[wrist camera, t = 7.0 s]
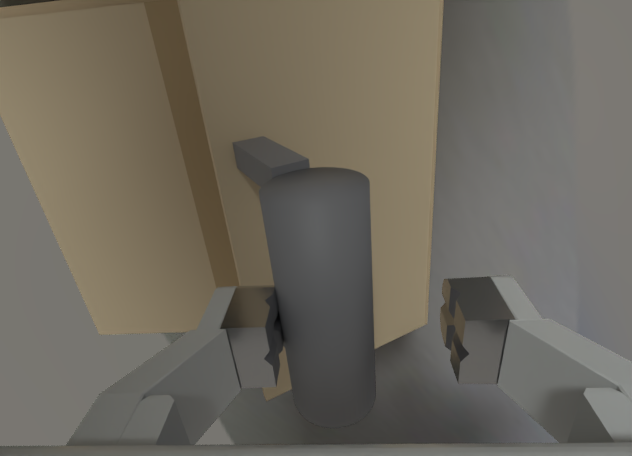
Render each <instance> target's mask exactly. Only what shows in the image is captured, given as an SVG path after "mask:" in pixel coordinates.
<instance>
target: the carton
mask: <svg viewBox="0 0 632 456" xmlns="http://www.w3.org/2000/svg"><path fill="white" fill-rule="evenodd" d="M443 4H444V0H440V3H439V24H438V45H437V67H436V88H435V109H434V130H433V152H432V173H431V194H430V216H429V237H428V258H427V280H426V301H425V322H424V324H427V317H428V298H429V278H430V259H431V239H432V220H433V200H434V180H435V161H436V141H437V122H438V102H439V83H440V63H441V43H442V24H443ZM0 116H1V118H2V120H3V123H4V125H5V127H6V129H7V131H8V134H9V136H10V138H11V140H12V142H13V145H14V147H15V149H16V151H17V153H18V156H19V158H20V160H21V162H22V164H23V167H24V169H25V171H26V173H27V175H28V178H29V180H30V182H31V184H32V187H33V189H34V191H35V193H36V195H37V198H38V200H39V202H40V204H41V206H42V209H43V211H44V213H45V215H46V217H47V220H48V222H49V224H50V226H51V229H52V231H53V233H54V235H55V237H56V240H57V242H58V244H59V246H60V248H61V251H62V253H63V255H64V257H65V259H66V262H67V264H68V266H69V268H70V271H71V272H72V275H73V277H74V279H75V282H76V284H77V286H78V288H79V290H80V293H81V295H82V297H83V299H84V302H85V304H86V306H87V308H88V310H89V313H90V314H91V317H92V319H93V321H94V323H95V326H96V328H97V330H98V332H99V335H112V334H140V333H142V334H143V333H174V332H188V331H190V330H196V329H197V327H198V325H199V323H200V321H201V319H202V317H203V314H204V312H205V310H206V308H207V306H208V304H209V302H210V300H211V297H212V295H213V293H214V291H215V289H216V288H218V287H225V286H237V287H238V286H240V285H239V280H238V276H237V271H236V267H235V262H234V257H233V253H232V248H231V244H230V239H229V235H228V230H227V226H226V221H225V217H224V212H223V208H222V203H221V198H220V194H219V189H218V185H217V180H216V176H215V171H214V167H213V162H212V158H211V153H210V148H209V144H208V139H207V135H206V130H205V126H204V121H203V117H202V112H201V108H200V103H199V98H198V94H197V89H196V85H195V80H194V76H193V71H192V67H191V62H190V58H189V53H188V48H187V44H186V39H185V35H184V30H183V26H182V21H181V17H180V12H179V8H178V3H177V0H60V1H51V2H42V3H34V4H25V5H17V6H8V7H0Z"/></svg>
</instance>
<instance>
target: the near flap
mask: <svg viewBox="0 0 632 456" xmlns="http://www.w3.org/2000/svg"><path fill="white" fill-rule="evenodd" d="M177 3H178V8H179V12H180V17H181V21H182V26H183V30H184V35H185V39H186V44H187V48H188V53H189V58H190V62H191V67H192V71H193V76H194V80H195V85H196V89H197V94H198V98H199V103H200V108H201V112H202V117H203V121H204V126H205V130H206V135H207V139H208V144H209V148H210V153H211V158H212V162H213V167H214V171H215V176H216V180H217V185H218V189H219V194H220V198H221V203H222V208H223V212H224V217H225V221H226V226H227V230H228V235H229V239H230V244H231V248H232V253H233V257H234V262H235V267H236V271H237V276H238V280H239V285H240V286H265V285H274V286H275V289H276V294H277V301H278V306H279V315H280V320H281V324H282V330H283V336H284V345H283V351H282V352H281V353H280V354H279V360H280V369H279V375H278V380H277V386H276V387H265V388H262V389H263V394H264V397H265V399H266V401H268V400H270V399H272V398H274V397H276V396H278V395H281V394H283V393H285V392H287V391H289V390H291V389H292V392H293V397H294V402H295V405H296V408H297V410H298V411H299V413H300V414H301V415H302V416H303V417H304V418H305V419H306V420H308V421H309V422H311V423H313V424H315V425H317V426H321V427H325V428H341V427H346V426H349V425H352V424H354V423H356V422H358V421H359V420H361V419H362V418H363V417H365V416H366V415H367V414H368V412H369V411H370V410H371V408H372V406H373V404H374V401H375V397H376V381H375V349H376V348H378V347H380V346H382V345H384V344H386V343H388V342H391V341H393V340H395V339H397V338H399V337H401V336H403V335H405V334H407V333H409V332H411V331H413V330H415V329H417V328H420V327H422V326H424V322H425V301H426V280H427V258H428V237H429V216H430V194H431V173H432V152H433V130H434V109H435V88H436V67H437V45H438V24H439V3H440V0H177Z"/></svg>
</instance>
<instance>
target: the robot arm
mask: <svg viewBox="0 0 632 456" xmlns="http://www.w3.org/2000/svg"><path fill="white" fill-rule="evenodd" d="M442 294H443V297H444V300H445V302H446V303H445V304H444V305H443V306H442V307H441V313H440V322H441V332H442V337H443V340H444V343H445V346H446V347H447V348H448V349H450V350H451V358H450V361H451V364H452V367H453V370H454V373H455V376H456V379H457V382H458V384H498V385H497V386H498V387H499V388H500V389H501V390H502V391H504V392H505V393H506V394H507V395H508V396H509V397H510V398H511V399H512V400H513V401H514V402H516V403H517V404H518V405H519V406H520V407H521V408H522V409H523V410H524V411H525V412H526V413H528V414H529V415H530V416H531V417H532V418H533V419H534V420H535V421H536V422H537V423H538V424H540V425H541V426H542V427H543V428H544V429H545V430H546V431H547V432H548V433H549V434H550V435H552V436H553V437H554V438H555V439H556V440H557V441H558V442H559V443H425V444H259V445H195V444H196V442H197V441H198V440H199V439H200V438H201V437H202V435H203V434H204V433H205V432H206V431H207V430H208V428H209V427H210V426H211V425H212V424H213V423H214V421H215V420H216V419H217V418H218V417H219V416H220V414H221V413H222V412H223V411H224V410H225V409H226V407H227V406H228V405H229V404H230V403H231V402H232V401H233V399H234V398H235V397H236V396H237V395H238V394H239V392H240V391H241V389H244V388H265V387H276V386H277V380H278V375H279V369H280V360H279V354H280V353H281V352H282V351H283V345H284V336H283V330H282V324H281V320H280V315H279V306H278V301H277V294H276V289H275V286H274V285H265V286H238V287H237V286H225V287H218V288H216V289H215V291H214V293H213V295H212V297H211V300H210V302H209V304H208V306H207V308H206V310H205V312H204V314H203V317H202V319H201V321H200V323H199V325H198V327H197V329H196V330H190V331H188V332H187V333H186V334H184V335H183V336H181V337H180V338H179V339H177V340H176V341H174V342H173V343H171V344H170V345H169V346H167V347H166V348H164V349H163V350H161V351H160V352H159V353H157V354H156V355H155V356H153V357H152V358H150V359H149V360H147V361H146V362H144V363H143V364H142V365H141V366H139V367H138V368H136V369H135V370H133V371H132V372H130V373H129V374H127V375H126V376H125V377H123V378H122V379H120V380H119V381H117V382H116V383H115V384H113V385H112V386H110V387H109V388H107V389H106V390H105V391H103V392H102V393H100V394H99V396H98V397H97V399H96V400H95V402H94V403H93V405H92V406H91V408H90V409H89V411H88V412H87V414H86V415H85V417H84V418H83V420H82V422H81V423H80V425H79V426H78V428H77V429H76V431H75V432H74V434H73V435H72V437H71V438H70V440H69V442H68V443H67V445H66V446H0V456H632V362H630V361H629V360H627V359H625V358H622V357H621V356H619V355H617V354H615V353H613V352H612V351H610V350H608V349H606V348H604V347H602V346H600V345H598V344H596V343H595V342H593V341H591V340H589V339H587V338H585V337H583V336H581V335H579V334H578V333H576V332H574V331H572V330H570V329H568V328H566V327H564V326H562V325H561V324H559V323H557V322H555V321H553V320H551V319H543V318H542V317H541V316H540V314H539V313H538V311H537V310H536V309H535V307H534V306H533V304H532V303H531V302H530V300H529V299H528V297H527V296H526V295H525V293H524V292H523V290H522V289H521V288H520V286H519V285H518V283H517V282H516V281H515V279H514V278H513V277H512V276H510V275H497V276H487V277H472V278H453V279H444V282H443V287H442Z"/></svg>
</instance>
